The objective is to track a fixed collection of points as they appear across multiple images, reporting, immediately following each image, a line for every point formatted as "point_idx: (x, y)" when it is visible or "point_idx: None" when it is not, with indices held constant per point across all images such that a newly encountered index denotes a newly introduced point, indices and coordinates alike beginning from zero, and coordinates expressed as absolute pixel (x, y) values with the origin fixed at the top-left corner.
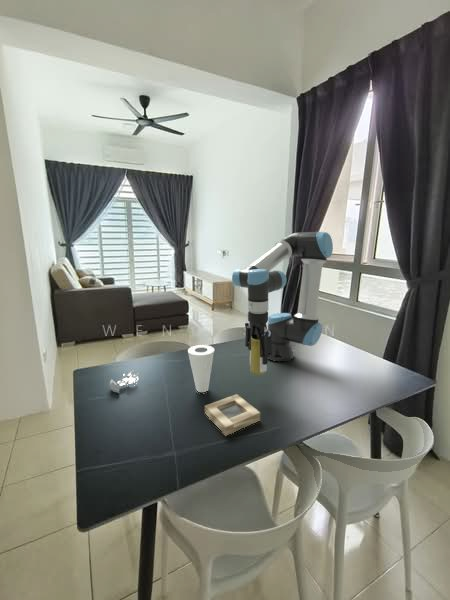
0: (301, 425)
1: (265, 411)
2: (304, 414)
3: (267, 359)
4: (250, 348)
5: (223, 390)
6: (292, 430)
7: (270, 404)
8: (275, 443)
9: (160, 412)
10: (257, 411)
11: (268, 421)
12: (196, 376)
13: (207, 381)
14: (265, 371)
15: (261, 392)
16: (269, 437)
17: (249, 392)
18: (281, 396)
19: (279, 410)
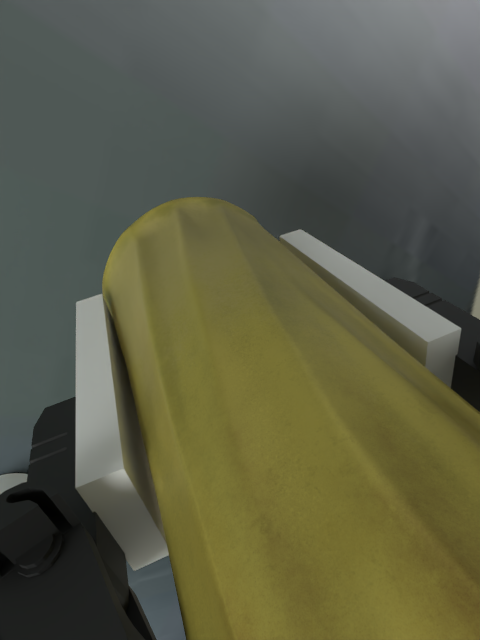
0: (472, 107)
1: (310, 233)
2: (431, 17)
3: (458, 309)
4: (136, 601)
5: (31, 399)
6: (466, 174)
7: (267, 174)
8: (469, 275)
9: (160, 592)
10: None
11: (374, 250)
12: None
13: None
14: (255, 220)
15: (114, 166)
16: (439, 283)
17: (93, 252)
18: (212, 33)
19: (336, 151)
